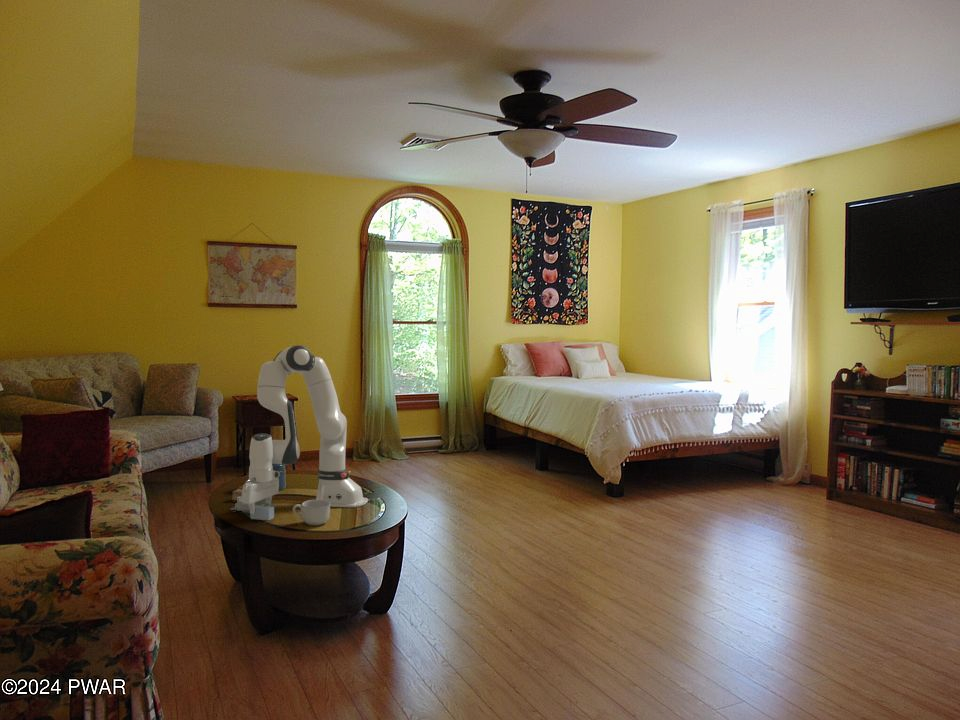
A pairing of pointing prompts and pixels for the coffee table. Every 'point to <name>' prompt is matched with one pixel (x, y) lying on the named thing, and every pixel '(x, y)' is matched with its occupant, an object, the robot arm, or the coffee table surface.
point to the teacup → (314, 511)
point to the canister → (281, 475)
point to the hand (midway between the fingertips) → (260, 510)
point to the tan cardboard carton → (237, 494)
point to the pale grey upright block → (263, 513)
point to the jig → (244, 507)
